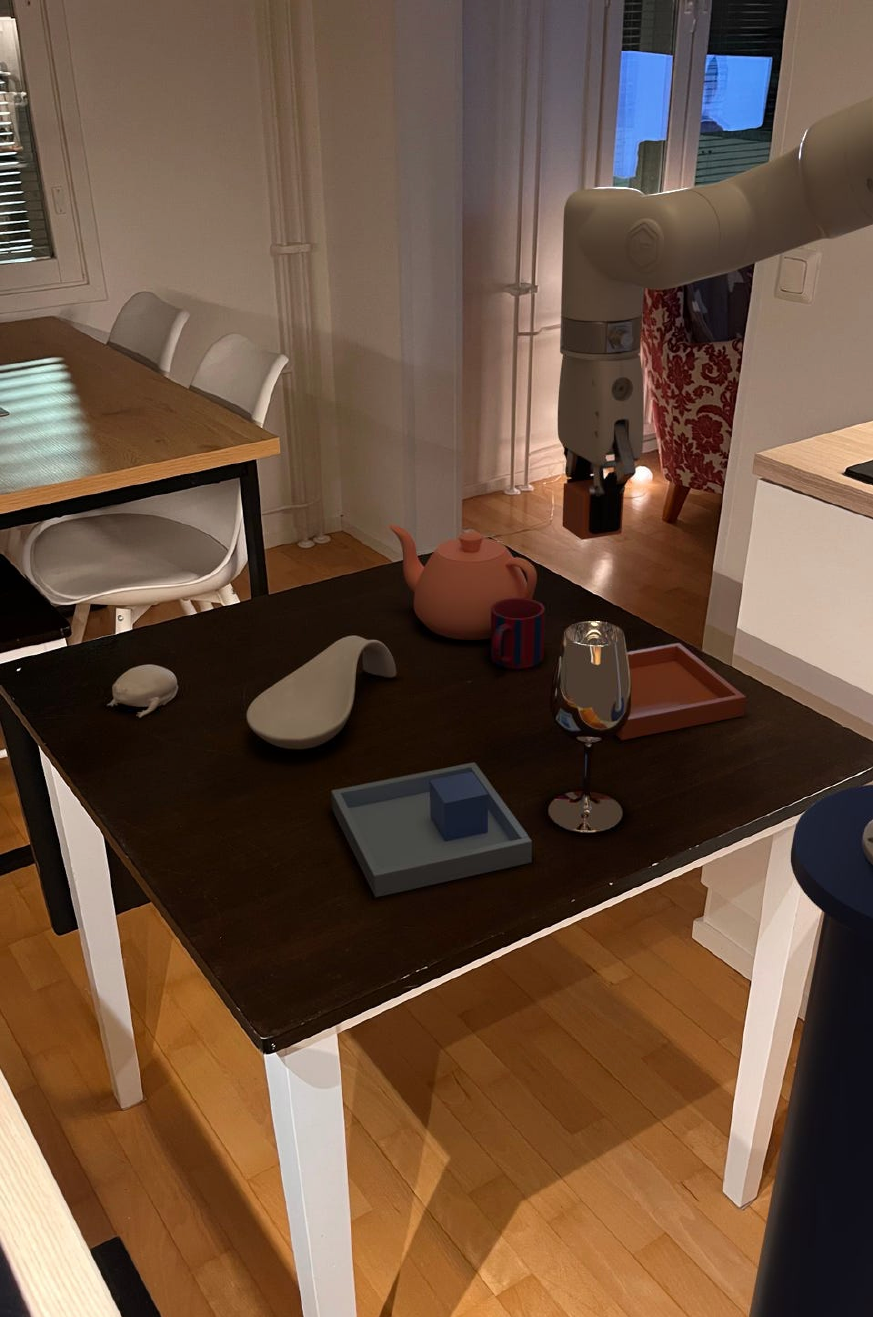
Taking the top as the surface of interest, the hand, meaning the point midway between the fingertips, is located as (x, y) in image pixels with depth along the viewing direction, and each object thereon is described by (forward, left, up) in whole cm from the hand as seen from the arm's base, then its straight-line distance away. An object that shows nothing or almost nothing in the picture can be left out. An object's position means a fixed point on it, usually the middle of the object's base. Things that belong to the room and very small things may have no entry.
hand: (592, 521), depth 120 cm
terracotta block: (0, 0, -1) cm, 1 cm away
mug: (+21, 0, -25) cm, 33 cm away
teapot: (+35, +1, -25) cm, 43 cm away
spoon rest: (+16, +25, -25) cm, 39 cm away
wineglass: (-14, +6, -25) cm, 30 cm away
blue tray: (-12, +22, -25) cm, 36 cm away
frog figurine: (+28, +45, -25) cm, 59 cm away
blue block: (-12, +19, -25) cm, 34 cm away
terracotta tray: (+6, -12, -25) cm, 28 cm away
